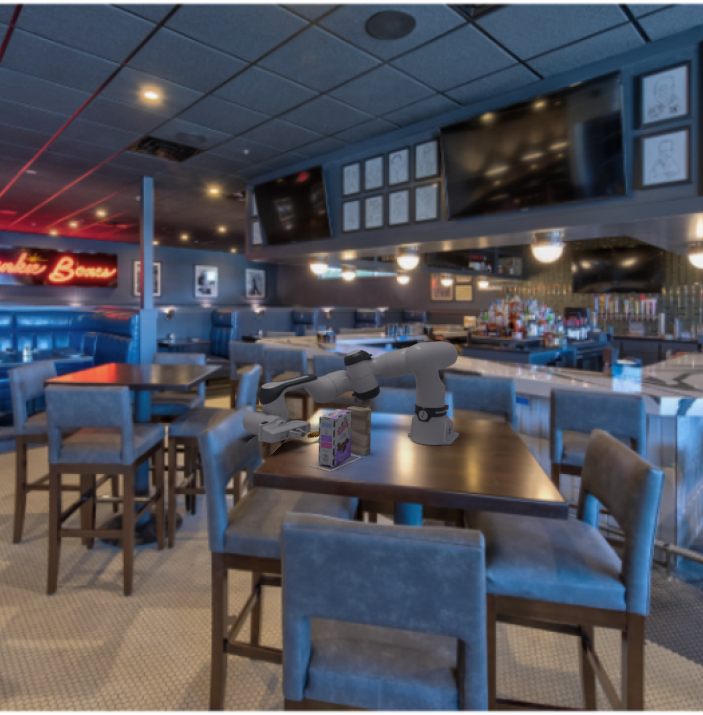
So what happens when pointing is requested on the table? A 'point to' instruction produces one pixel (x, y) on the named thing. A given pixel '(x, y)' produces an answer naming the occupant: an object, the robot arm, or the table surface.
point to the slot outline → (339, 466)
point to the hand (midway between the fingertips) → (302, 434)
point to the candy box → (334, 437)
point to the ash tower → (360, 430)
